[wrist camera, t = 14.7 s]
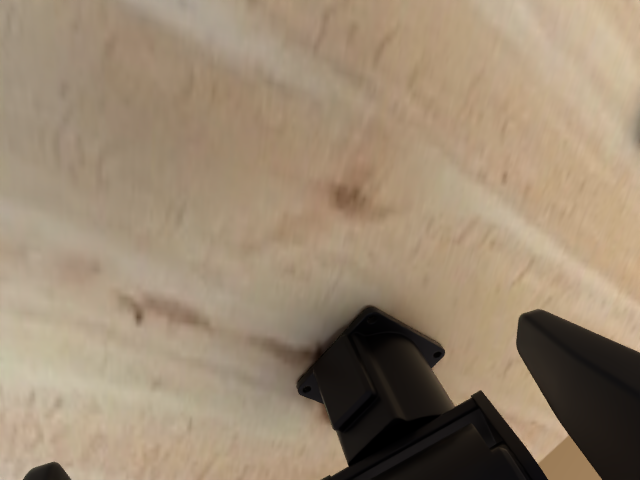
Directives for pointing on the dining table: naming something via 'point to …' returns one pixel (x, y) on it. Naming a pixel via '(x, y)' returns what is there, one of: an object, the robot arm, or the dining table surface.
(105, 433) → the dining table surface
